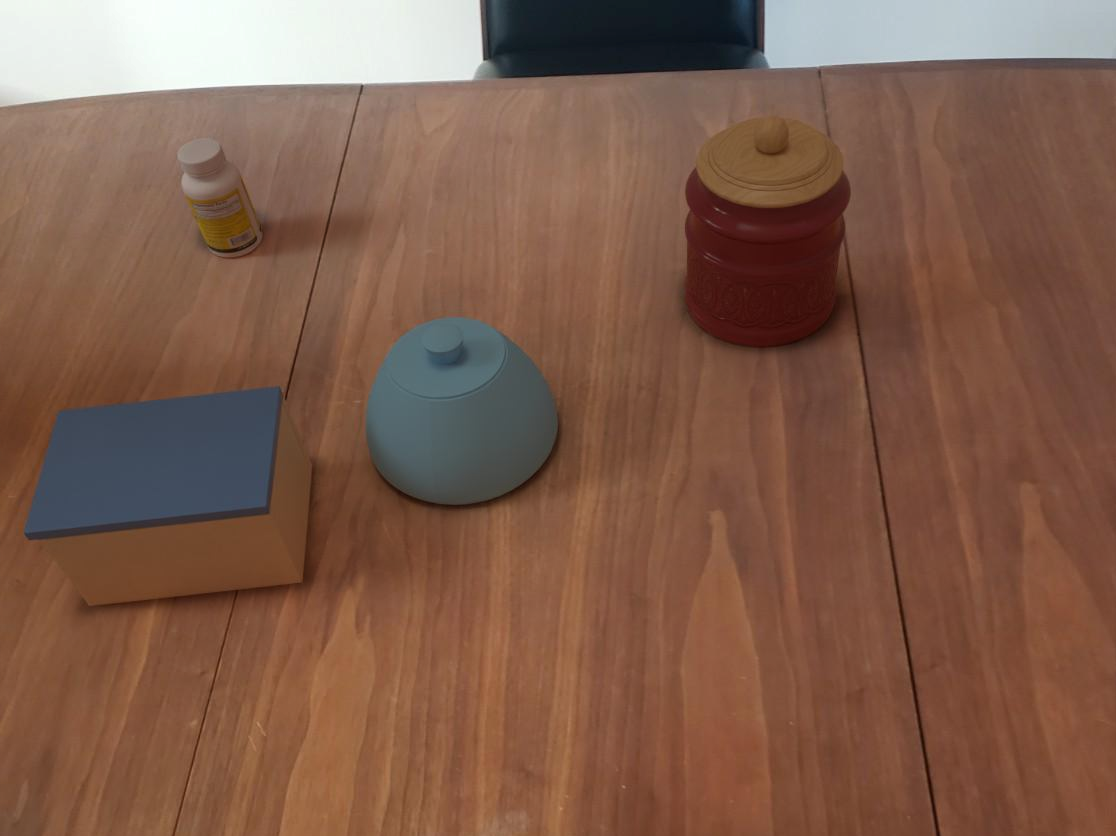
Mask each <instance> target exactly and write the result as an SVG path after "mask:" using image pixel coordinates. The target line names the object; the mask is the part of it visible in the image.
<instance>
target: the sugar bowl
mask: <svg viewBox="0 0 1116 836" xmlns="http://www.w3.org/2000/svg"><path fill="white" fill-rule="evenodd" d="M558 417H559V416H558V411H557V407H556V402H555V399H554V396H553V393H552V391H551V389H550V386H549V384H548V382H547V380H546V378H545V377H544V374H543V373H542V371H541V370H540V369H539V367H538V365H536V363H535V362H534V361H533V359H532V358H531V357H530V356H529V355H528V353H526V352H525V351H524V350H523V349H522V348H521V347H520V346H518V344H517V343H516V342H514V341H513V340H511V338H509V337H508V336H506V335H505V333H502V331H500V330H498V329H497V328H495V327H494V326H492V325H490V324H488V323H486V322H484V321H481V320H478V319H473V318H468V317H459V316H457V317H456V316H455V317H454V316H453V317H441V318H436V319H432V320H429V321H426V322H424V323H421V324H418V325H417V326H415V327H413V328H411V329H410V330H408V331H407V332H405V333H404V334H403V335H402V336H400V337H399V339H398V340H396V342H395V343H394V344H393V345H392V346H391V348H390V350H389V351H388V352H387V354H386V356H385V357H384V359H383V361H382V363H381V365H380V367H379V369H378V371H377V373H376V376H375V378H374V381H373V383H372V386H371V389H370V391H369V394H368V400H367V405H366V412H365V434H366V435H365V436H366V443H367V447H368V451H369V455H370V457H371V461H372V463H373V465H374V467H375V468H376V470H377V471H378V473H379V474H380V475H381V476H382V477H383V479H385V480H386V481H387V482H388V483H389V484H390V485H392V486H393V487H394V488H395V489H397V490H398V491H399V492H402V493H404V494H405V495H407V496H410V497H412V498H415V499H417V500H421V501H424V502H429V503H431V504H438V505H449V506H462V505H471V504H472V505H473V504H479V503H482V502H486V501H490V500H493V499H495V498H499V497H501V496H503V495H506V494H507V493H509V492H512V491H514V490H515V489H516V488H519V487H520V486H521V485H522V484H524V483H525V482H527V481H528V480H529V479H531V477H532V476H533V475H535V474H536V473H537V471H539V469H540V468H541V467H542V466H543V465H544V463H545V462H546V460H547V459H548V458H549V456H550V454H551V452H552V450H553V447H554V444H555V442H556V439H557V436H558V429H559V418H558Z"/></svg>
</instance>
